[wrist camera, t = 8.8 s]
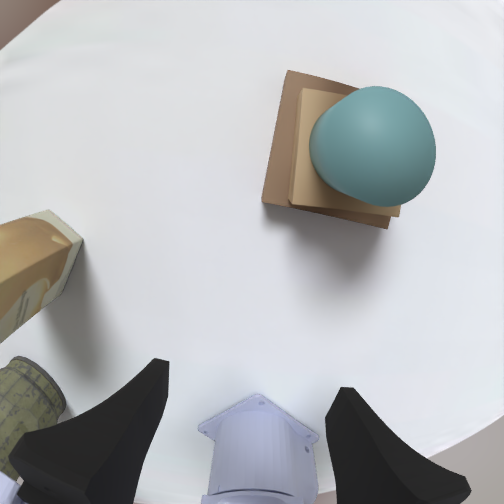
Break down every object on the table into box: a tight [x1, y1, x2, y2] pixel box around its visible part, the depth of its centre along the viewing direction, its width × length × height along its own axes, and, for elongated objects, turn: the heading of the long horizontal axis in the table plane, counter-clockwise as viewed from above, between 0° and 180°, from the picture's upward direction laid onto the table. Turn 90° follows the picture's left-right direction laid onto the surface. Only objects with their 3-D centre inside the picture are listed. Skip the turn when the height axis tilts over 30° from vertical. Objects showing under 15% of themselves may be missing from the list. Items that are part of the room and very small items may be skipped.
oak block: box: [288, 88, 401, 217], centre depth 15 cm, size 6×6×2 cm
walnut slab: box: [262, 70, 391, 229], centre depth 17 cm, size 8×8×2 cm
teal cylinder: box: [309, 86, 436, 207], centre depth 12 cm, size 5×5×4 cm
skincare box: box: [0, 210, 83, 344], centre depth 14 cm, size 6×4×12 cm
